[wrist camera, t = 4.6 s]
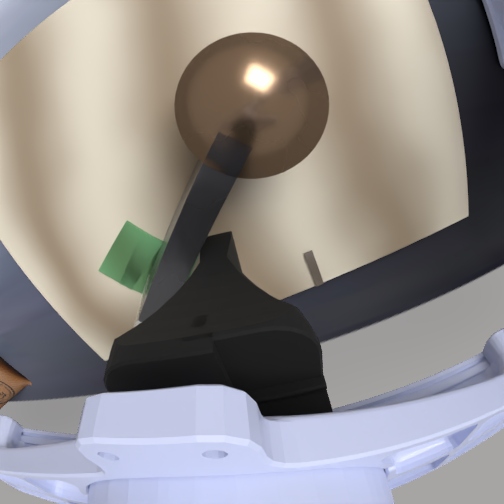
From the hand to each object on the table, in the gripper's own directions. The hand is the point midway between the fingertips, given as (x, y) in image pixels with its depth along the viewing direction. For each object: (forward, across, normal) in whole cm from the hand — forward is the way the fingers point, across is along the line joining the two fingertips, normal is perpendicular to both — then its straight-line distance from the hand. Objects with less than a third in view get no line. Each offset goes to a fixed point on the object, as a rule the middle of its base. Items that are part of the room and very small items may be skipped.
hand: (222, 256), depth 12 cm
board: (+2, 0, -4) cm, 5 cm away
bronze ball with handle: (+1, 0, -3) cm, 3 cm away
